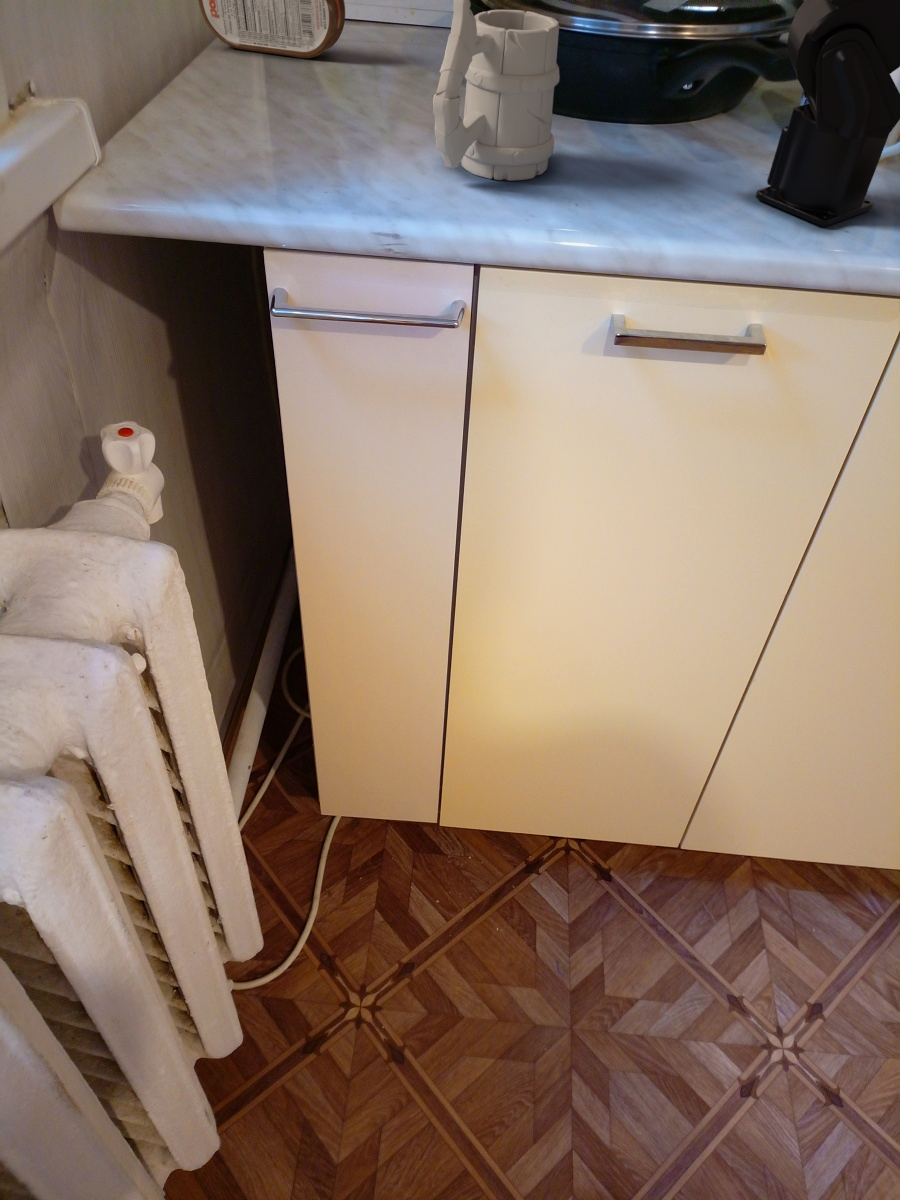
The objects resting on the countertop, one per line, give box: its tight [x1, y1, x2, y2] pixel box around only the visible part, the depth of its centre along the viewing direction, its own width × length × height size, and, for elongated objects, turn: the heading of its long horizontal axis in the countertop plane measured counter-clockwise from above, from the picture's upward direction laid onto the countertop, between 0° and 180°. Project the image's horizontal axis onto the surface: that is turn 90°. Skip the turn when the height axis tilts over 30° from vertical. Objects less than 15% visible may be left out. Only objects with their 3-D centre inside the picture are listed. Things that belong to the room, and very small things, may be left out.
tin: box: [197, 0, 346, 59], centre depth 85 cm, size 15×3×8 cm, turn 74°
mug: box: [432, 0, 560, 181], centre depth 64 cm, size 8×12×12 cm, turn 137°
